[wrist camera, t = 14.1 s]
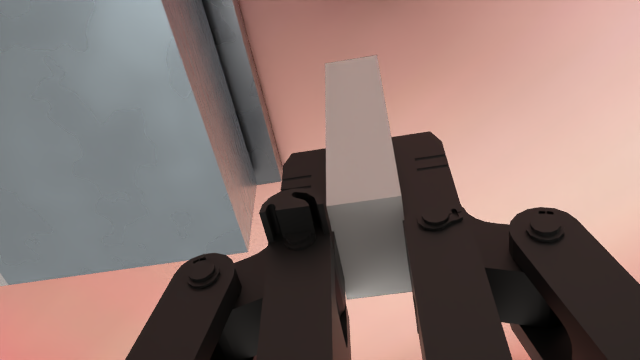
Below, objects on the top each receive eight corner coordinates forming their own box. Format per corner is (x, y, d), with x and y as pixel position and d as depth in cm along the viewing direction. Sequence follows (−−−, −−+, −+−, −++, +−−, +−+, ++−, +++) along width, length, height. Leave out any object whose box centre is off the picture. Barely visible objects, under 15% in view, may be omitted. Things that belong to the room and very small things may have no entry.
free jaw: (-155, -105, 20) (-259, -69, 16) (149, -170, 19) (110, -146, 15) (37, 215, 28) (-3, 286, 25) (256, 182, 27) (248, 251, 23)
